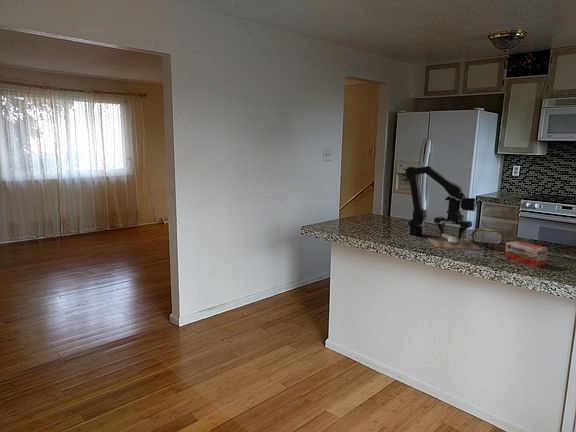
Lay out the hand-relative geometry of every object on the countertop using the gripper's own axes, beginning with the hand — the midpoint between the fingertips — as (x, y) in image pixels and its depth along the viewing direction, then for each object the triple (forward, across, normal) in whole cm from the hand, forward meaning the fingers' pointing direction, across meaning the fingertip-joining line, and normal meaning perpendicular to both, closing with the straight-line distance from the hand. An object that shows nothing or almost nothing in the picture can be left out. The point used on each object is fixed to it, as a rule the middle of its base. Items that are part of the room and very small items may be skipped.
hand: (451, 237), depth 223 cm
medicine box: (+3, -39, +10) cm, 41 cm away
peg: (+1, -1, +5) cm, 5 cm away
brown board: (+2, -4, +7) cm, 8 cm away
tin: (+2, -15, -9) cm, 18 cm away
